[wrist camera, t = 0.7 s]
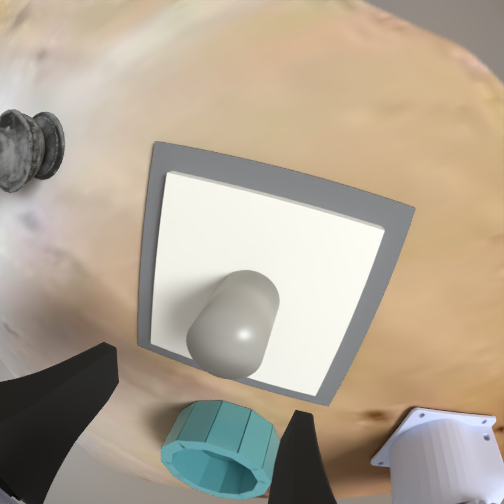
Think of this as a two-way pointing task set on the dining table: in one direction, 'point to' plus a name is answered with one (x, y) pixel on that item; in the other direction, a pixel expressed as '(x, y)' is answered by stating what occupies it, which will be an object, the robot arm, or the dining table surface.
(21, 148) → the dark grey turned figure
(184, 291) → the lid
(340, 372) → the mat
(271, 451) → the bowl
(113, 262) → the dining table surface
